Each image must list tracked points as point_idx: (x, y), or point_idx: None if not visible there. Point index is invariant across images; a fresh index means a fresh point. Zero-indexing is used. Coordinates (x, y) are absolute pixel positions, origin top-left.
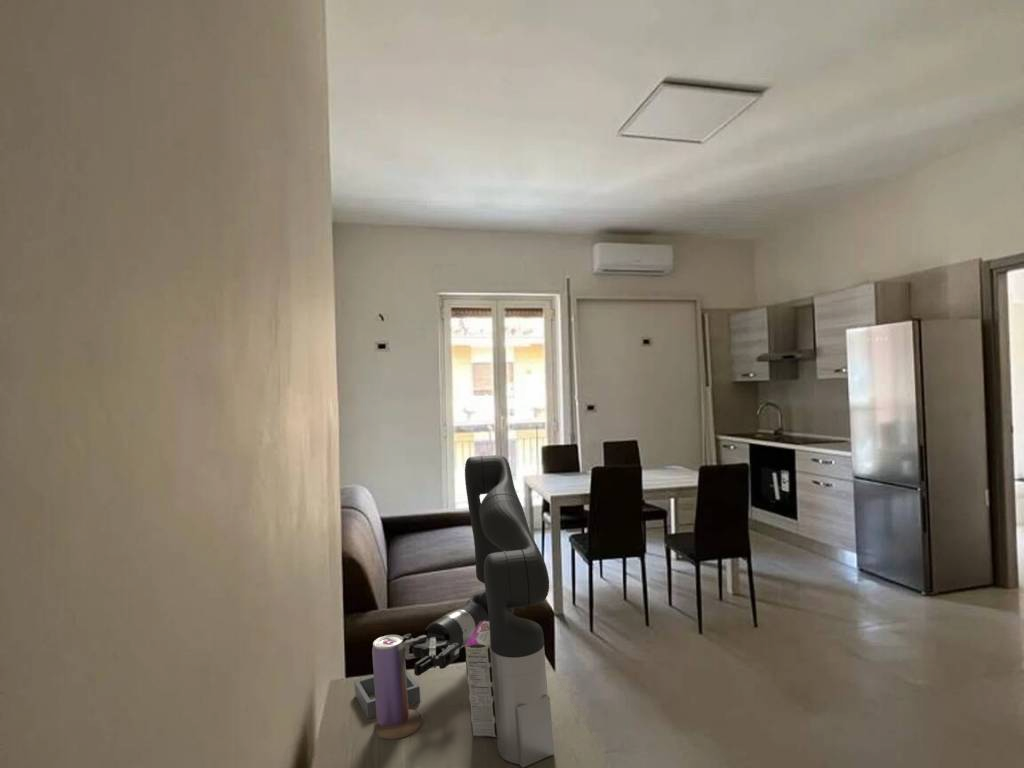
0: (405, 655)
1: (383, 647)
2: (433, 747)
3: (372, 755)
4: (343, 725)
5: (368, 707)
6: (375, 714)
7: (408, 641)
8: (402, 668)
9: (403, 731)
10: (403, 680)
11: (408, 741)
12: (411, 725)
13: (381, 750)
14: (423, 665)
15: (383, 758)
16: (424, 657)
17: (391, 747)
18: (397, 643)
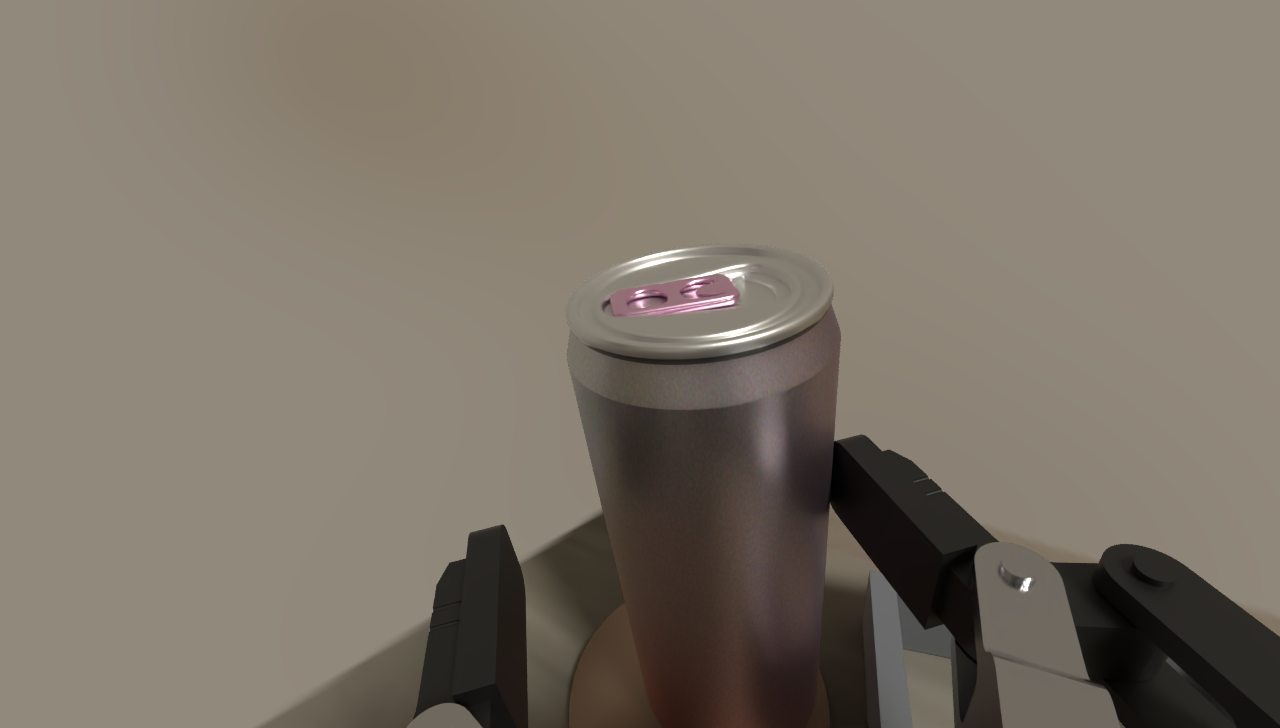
0: (959, 724)
1: (617, 263)
2: (408, 708)
3: (601, 529)
4: None
5: (868, 591)
6: (864, 650)
7: (1040, 710)
8: (600, 494)
9: (605, 662)
10: (615, 558)
11: (546, 656)
12: (611, 720)
13: (597, 559)
14: (439, 588)
15: (555, 545)
16: (489, 639)
17: (579, 589)
18: (595, 318)
